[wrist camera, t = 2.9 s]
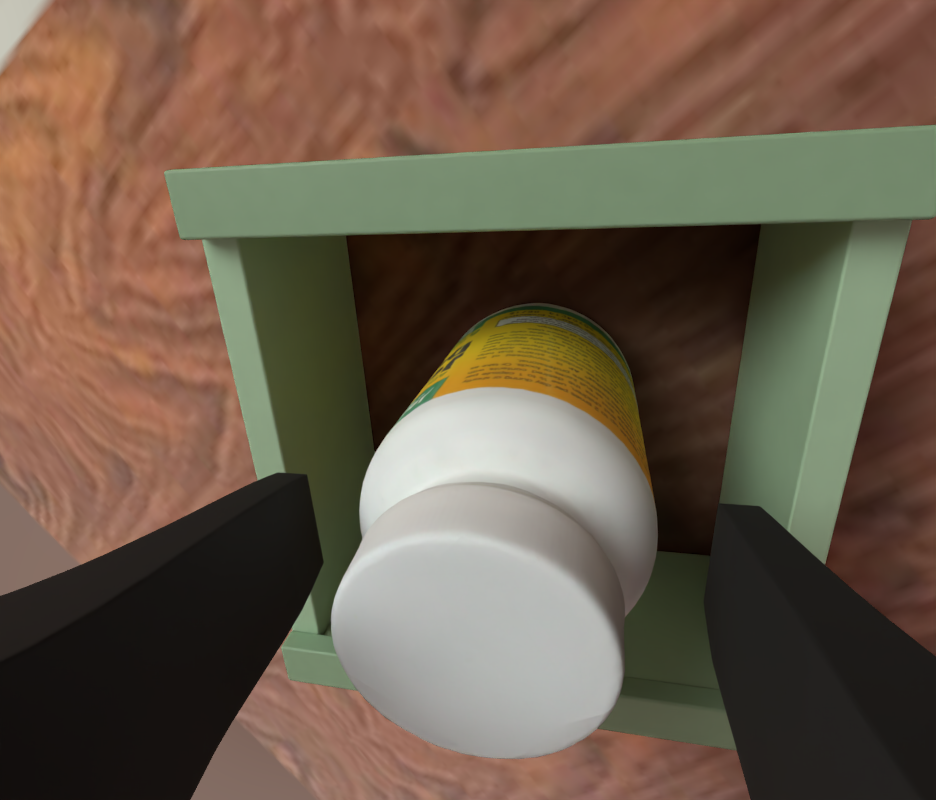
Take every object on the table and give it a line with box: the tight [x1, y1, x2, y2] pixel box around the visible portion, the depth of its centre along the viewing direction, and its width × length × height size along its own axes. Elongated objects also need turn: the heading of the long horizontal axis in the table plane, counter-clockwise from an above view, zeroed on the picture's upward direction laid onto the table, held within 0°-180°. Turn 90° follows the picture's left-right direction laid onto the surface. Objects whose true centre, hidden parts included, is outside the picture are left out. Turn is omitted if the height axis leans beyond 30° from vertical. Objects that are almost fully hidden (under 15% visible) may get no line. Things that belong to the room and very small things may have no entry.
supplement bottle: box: [331, 303, 658, 759], centre depth 12 cm, size 5×5×10 cm
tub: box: [164, 125, 936, 751], centre depth 13 cm, size 12×12×6 cm
